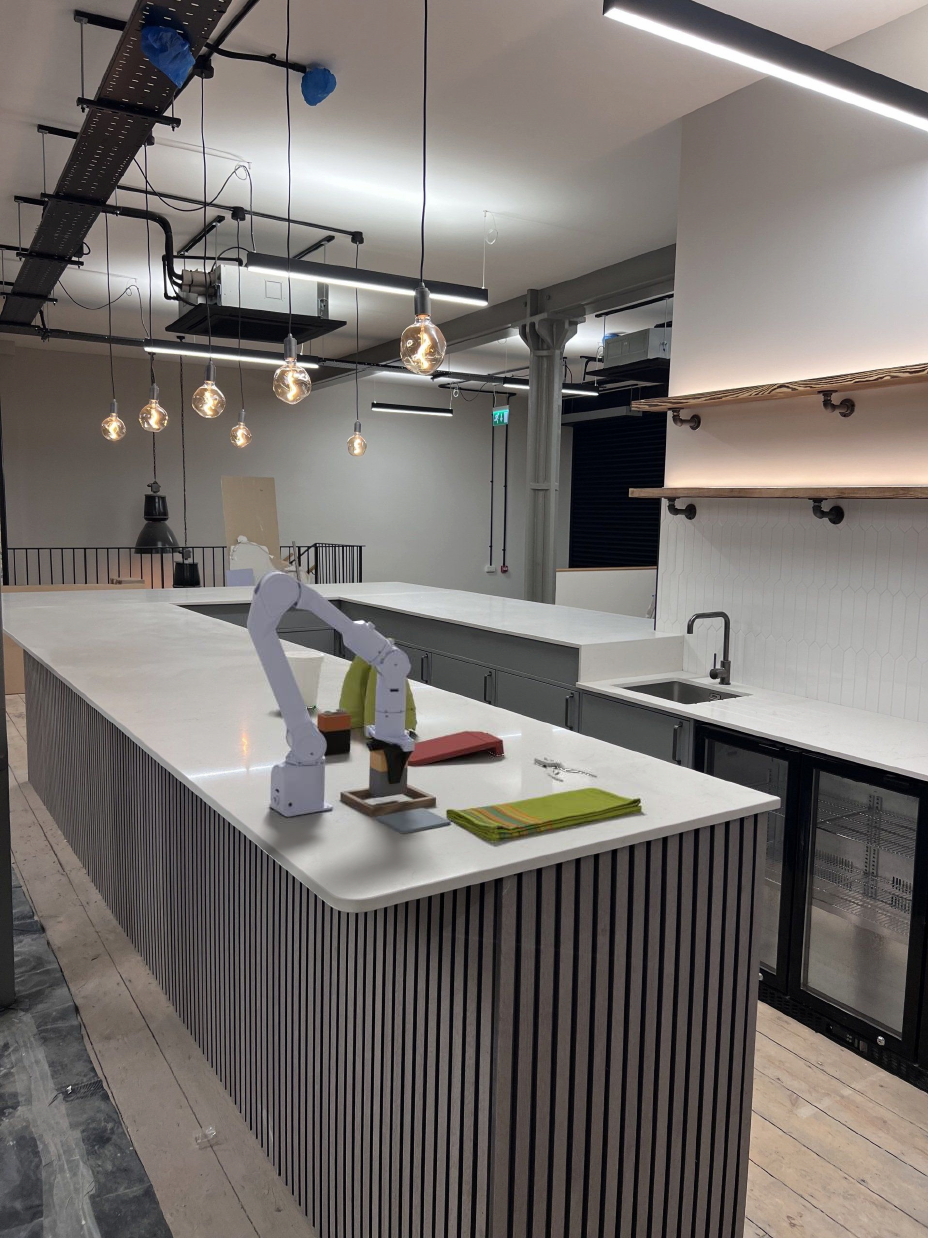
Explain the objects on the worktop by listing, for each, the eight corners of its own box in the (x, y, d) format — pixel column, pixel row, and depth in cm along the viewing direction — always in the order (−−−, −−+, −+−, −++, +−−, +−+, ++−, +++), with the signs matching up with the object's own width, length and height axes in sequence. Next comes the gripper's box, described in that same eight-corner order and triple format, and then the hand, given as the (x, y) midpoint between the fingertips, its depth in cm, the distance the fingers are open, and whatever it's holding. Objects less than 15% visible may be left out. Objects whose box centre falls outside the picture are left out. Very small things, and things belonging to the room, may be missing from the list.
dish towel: (442, 820, 162) (443, 803, 162) (589, 793, 182) (590, 778, 182) (491, 846, 149) (492, 827, 149) (644, 814, 169) (644, 798, 169)
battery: (351, 752, 206) (352, 710, 205) (324, 756, 202) (325, 713, 201) (342, 748, 210) (342, 707, 209) (316, 752, 206) (316, 709, 205)
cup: (315, 712, 251) (316, 658, 249) (273, 709, 252) (273, 655, 251) (328, 703, 263) (329, 652, 261) (288, 701, 265) (289, 650, 263)
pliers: (560, 776, 188) (522, 759, 201) (560, 783, 188) (521, 766, 201) (597, 771, 193) (558, 755, 206) (597, 778, 193) (557, 762, 206)
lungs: (427, 737, 225) (430, 642, 223) (372, 743, 217) (375, 645, 214) (381, 718, 246) (383, 631, 244) (330, 723, 238) (331, 633, 235)
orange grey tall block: (379, 797, 166) (380, 756, 165) (368, 792, 169) (370, 751, 168) (406, 793, 169) (408, 752, 169) (395, 788, 173) (396, 747, 172)
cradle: (372, 817, 160) (372, 808, 160) (340, 799, 170) (340, 792, 170) (435, 805, 169) (436, 797, 169) (402, 789, 178) (402, 782, 178)
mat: (403, 833, 152) (403, 831, 152) (376, 819, 159) (376, 816, 159) (450, 824, 158) (450, 821, 158) (422, 810, 165) (422, 808, 165)
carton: (409, 783, 197) (508, 758, 207) (407, 762, 196) (506, 737, 206) (390, 769, 207) (484, 746, 218) (387, 749, 207) (482, 726, 217)
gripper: (429, 715, 164) (426, 786, 165) (388, 701, 176) (386, 768, 177) (396, 718, 160) (394, 792, 161) (357, 704, 172) (355, 773, 173)
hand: (388, 780), depth 169 cm, fingers closed on orange grey tall block, 4 cm apart
